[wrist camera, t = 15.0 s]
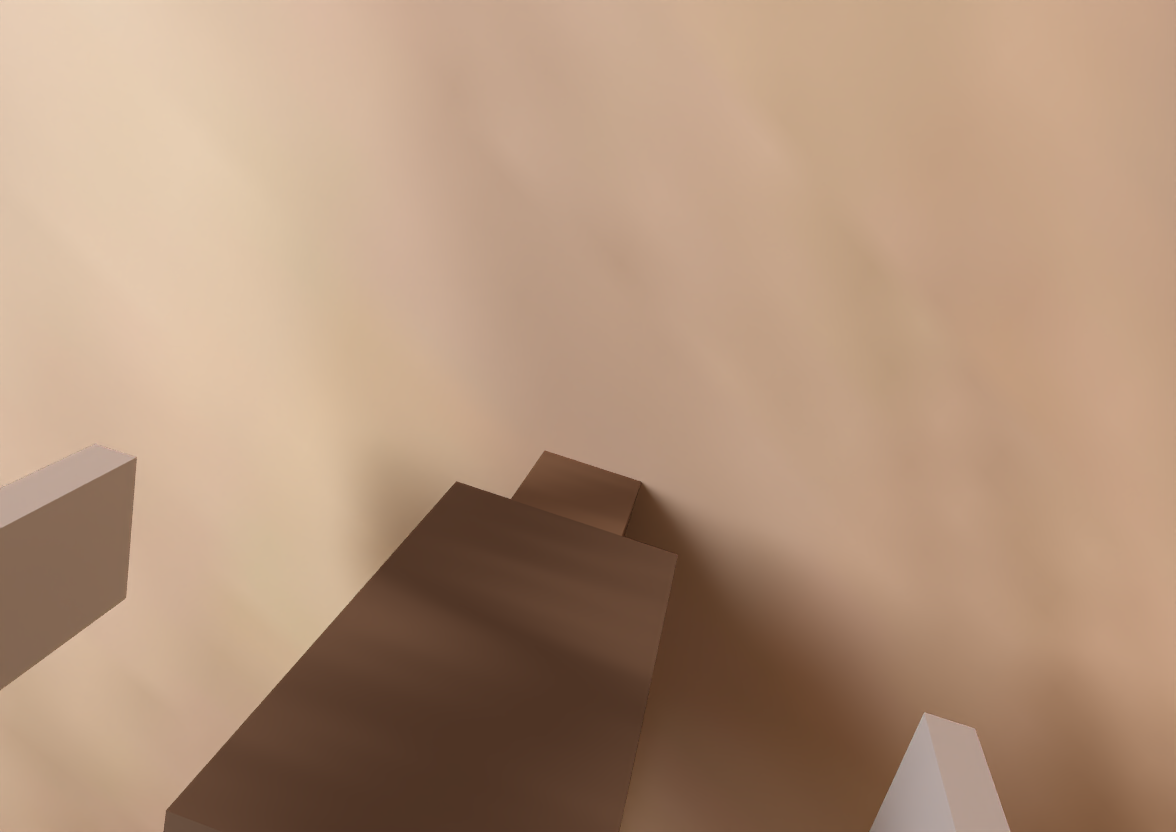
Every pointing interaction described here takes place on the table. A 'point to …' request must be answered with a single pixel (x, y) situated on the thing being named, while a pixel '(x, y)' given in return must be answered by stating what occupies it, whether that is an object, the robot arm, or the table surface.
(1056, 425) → the table surface
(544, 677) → the crook
